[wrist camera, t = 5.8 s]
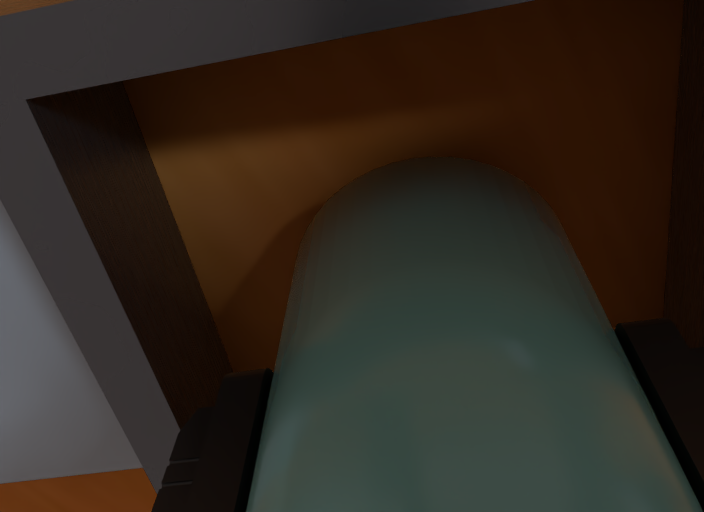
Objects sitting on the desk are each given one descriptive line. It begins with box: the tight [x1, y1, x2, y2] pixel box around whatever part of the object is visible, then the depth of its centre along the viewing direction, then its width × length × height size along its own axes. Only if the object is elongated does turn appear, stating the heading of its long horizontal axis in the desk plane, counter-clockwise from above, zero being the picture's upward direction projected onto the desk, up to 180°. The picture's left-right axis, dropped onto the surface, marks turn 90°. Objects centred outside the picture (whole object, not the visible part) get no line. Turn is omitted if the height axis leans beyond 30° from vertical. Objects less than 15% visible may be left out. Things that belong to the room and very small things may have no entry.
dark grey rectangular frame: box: [0, 0, 704, 494], centre depth 13 cm, size 13×13×4 cm
